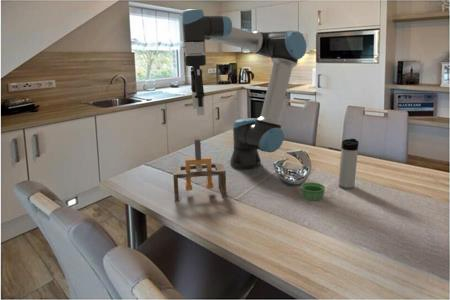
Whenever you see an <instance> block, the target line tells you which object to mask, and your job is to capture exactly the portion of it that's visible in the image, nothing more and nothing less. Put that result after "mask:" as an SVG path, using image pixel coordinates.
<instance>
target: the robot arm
mask: <svg viewBox="0 0 450 300" xmlns="http://www.w3.org/2000/svg"><path fill="white" fill-rule="evenodd" d="M182 29H183V32H182V33H183V42H184V45H182V48H183V49H184V54H185V56H184V58H185V66H187V67H190V81H191V82H190V85H191V88H190V90H191V96H192V98H191V100H192V110H196V116H199V117H200V116H205V103H204V102H205V99H204V97H205V91H204V81H203V70H202V69H201V67H203V66H206V64H207V59H206V57H207V56H206V55H205V54H206V41H209V42H215V43H218V44H219V43H220V44H224V45H228V46H233V47H236V48H242V49H245V50H249V52H251V53H253V54H256V55H260V56H263V57H267V58H270V59H271V62H272V63H273V64H272V68H271V73H270V77H269V81H268V85H267V90H266V93H265V97H264V100H263V105H262V109H261V112H260V113H261V114H260V116H259V117H257V118H255V117H254V118H253V117H251V118H250V117H248V118H239V119H236V120H235V121H233V126H232V129H233V134H232V135H233V151H232V153H231V157H230V162H229V163H230V167H231V168H234V169H238V170H254V169H257V168H260V167H261V165H262V161H261V157H260V153H259V151H258V150H260V151H261V152H264V153H274V152H276V151H277V150H279V149H280V147H282V145H283V143H284V140H285V135H284V132H283V130H282V122H281V121H280V119H281V115H282V110H283V107H284V103H285V99H286V95H287V90H288V87H289V84H290V78H291V75H292V71H293V68H294V67H296V66H297V65H298V61H299V60H301V59H302V58H303V57H304V56H305V55H306V51H307V41H306V39H305V36H304V35H303V34H302V33H301V32H300V31H296V30H286V31H285V30H284V31H269V32H268V31H266V32H263V31H259V30H257V31H249V30H245V29H242V28H237V27H234V26H233V22H232V19H231V18H230V17H229V16H227V15H205V12H204V10H203V9H197V8H195V9H193V8H192V9H191V8H190V9H184V10H183V12H182Z"/></svg>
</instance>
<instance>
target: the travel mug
mask: <svg viewBox="0 0 450 300" xmlns="http://www.w3.org/2000/svg"><path fill="white" fill-rule="evenodd" d="M341 142H342V143H341V152H340V163H339V174H338V175H339V177H338V187H339V188H340V189H343V190H353V189H355V185H356V184H355V183H356V176H357V175H356V174H357V173H356V172H357V165H358V164H357V163H358V155H359V153H358V151H359V140H357V139H356V138H348V139H344V140H342V141H341Z"/></svg>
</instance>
